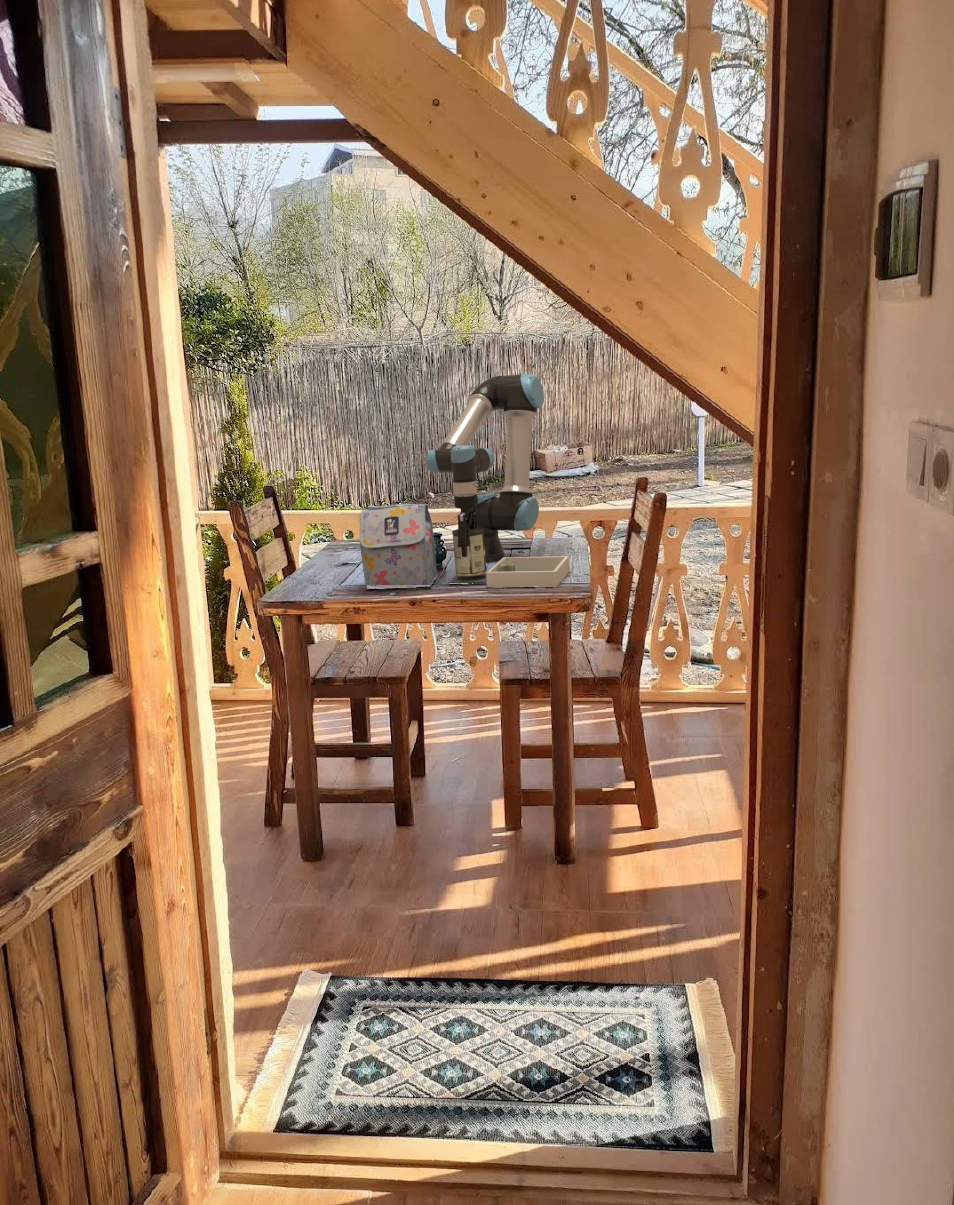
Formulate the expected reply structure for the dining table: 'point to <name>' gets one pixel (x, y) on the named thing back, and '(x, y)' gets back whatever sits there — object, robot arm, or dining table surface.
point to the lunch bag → (397, 545)
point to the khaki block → (507, 567)
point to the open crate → (529, 572)
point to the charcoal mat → (470, 579)
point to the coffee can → (471, 553)
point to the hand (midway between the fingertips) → (470, 563)
